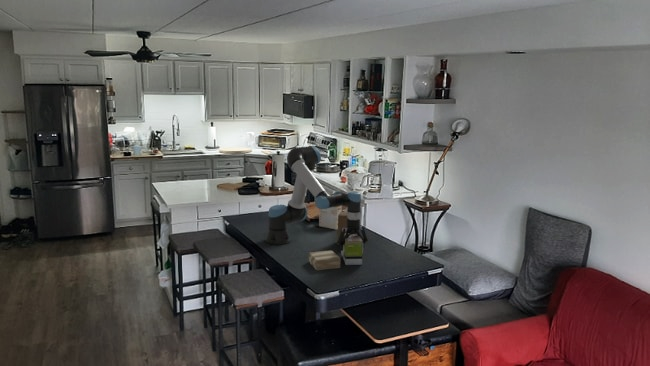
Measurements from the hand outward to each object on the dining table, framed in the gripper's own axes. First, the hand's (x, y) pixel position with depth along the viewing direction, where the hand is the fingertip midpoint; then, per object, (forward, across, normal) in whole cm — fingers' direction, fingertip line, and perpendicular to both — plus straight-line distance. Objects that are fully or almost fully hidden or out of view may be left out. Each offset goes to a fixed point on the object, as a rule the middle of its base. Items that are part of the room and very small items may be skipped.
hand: (352, 254), depth 295 cm
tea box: (+4, 0, 0) cm, 4 cm away
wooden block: (+4, +12, +30) cm, 33 cm away
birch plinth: (+4, -18, 0) cm, 18 cm away
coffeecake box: (+4, +19, +68) cm, 71 cm away
